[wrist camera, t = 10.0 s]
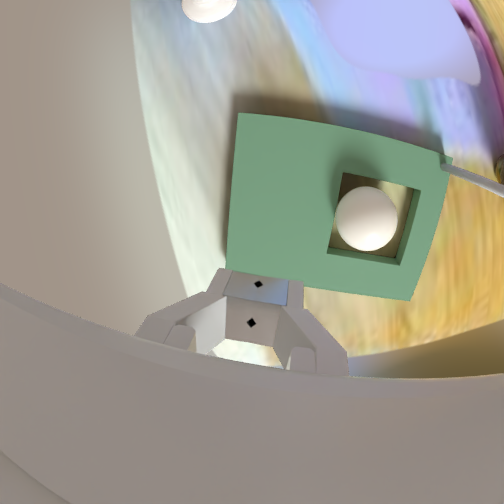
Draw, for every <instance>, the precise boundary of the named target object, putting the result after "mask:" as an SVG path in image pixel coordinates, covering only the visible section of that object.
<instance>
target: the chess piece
mask: <svg viewBox="0 0 504 504" xmlns="http://www.w3.org/2000/svg"><path fill="white" fill-rule="evenodd" d="M236 3H237V0H182V9H183V11H184V13H185V14H186V16H187V17H188V18H189V19H191V20H193V21H195V22H200V23H209V22H214V21H217V20H220V19H222V18H223V17H225V16H227V15H228V14H229V13H230V12H231V11H232V10H233V9H234V7H235V6H236Z"/></svg>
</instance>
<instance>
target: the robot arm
mask: <svg viewBox="0 0 504 504" xmlns="http://www.w3.org/2000/svg"><path fill="white" fill-rule="evenodd" d="M303 302H304V282H303V281H298V280H289V279H282V278H274V277H267V276H261V275H256V274H251V273H246V272H240V271H235V270H234V271H233V270H230V269H224V268H219V269H218V270H217V272H216V274H215V276H214V278H213V280H212V282H211V283H210V285H209V287H208V289H207V291H206V292H200V293H198V294H195V295H193V296H191V297H189V298H186V299H184V300H182V301H180V302H177V303H175V304H173V305H171V306H168V307H166V308H164V309H162V310H159V311H157V312H155V313H152V314H150V315H148V316H147V317H146V319H145V320H144V322H143V323H142V325H141V326H140V328H139V329H138V331H137V332H136V333H135V335H134V336H133V335H130V334H126V333H124V332H120V331H117V330H114V329H111V328H108V327H106V326H103V325H100V324H97V323H94V322H91V321H88V320H86V319H83V318H80V317H78V316H75V315H72V314H70V313H67V312H64V311H62V310H60V309H57V308H55V307H53V306H50V305H48V304H45V303H43V302H41V301H38V300H36V299H34V298H32V297H29V296H27V295H25V294H23V293H21V292H19V291H17V290H15V289H12V288H10V287H8V286H6V285H4V284H2V283H0V504H504V373H502V374H493V375H483V376H472V377H457V378H434V379H433V378H430V379H395V378H368V377H353V376H349V369H348V360H347V352H346V351H345V349H344V348H343V347H342V346H341V345H340V344H339V343H338V342H337V341H336V340H335V339H334V338H333V336H332V335H331V334H330V333H329V332H328V331H327V330H326V329H325V328H324V327H323V326H322V325H321V323H320V322H319V321H318V320H317V319H316V318H315V317H314V316H313V315H312V314H311V313H310V312H309V310H308V309H303ZM224 339H231V340H237V341H244V342H250V343H255V344H260V345H265V346H270V347H273V349H274V351H275V353H276V355H277V356H278V358H279V360H280V362H281V364H282V366H283V368H284V369H279V368H273V367H267V366H261V365H255V364H249V363H244V362H238V361H233V360H228V359H223V358H219V357H214V356H209V355H205V354H206V353H208V352H209V351H210V350H212V349H213V348H214V347H216V346H217V345H218V344H219V343H221V342H222V341H223V340H224Z"/></svg>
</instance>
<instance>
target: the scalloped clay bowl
mask: <svg viewBox="0 0 504 504" xmlns="http://www.w3.org/2000/svg"><path fill="white" fill-rule="evenodd" d="M495 173H496V178H497V181H498V182H499V184H502V185H504V154H503V155H502V156H500V157H499V159H498V160H497V163H496V167H495Z"/></svg>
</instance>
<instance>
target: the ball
mask: <svg viewBox="0 0 504 504" xmlns="http://www.w3.org/2000/svg"><path fill="white" fill-rule="evenodd" d="M397 223H398V216H397V211H396V208H395V205H394V203H393V202H392V200H391V199H390V197H389V196H388V195H387V194H385V193H384V192H383V191H381V190H379V189H377V188H374V187H368V186H364V187H358V188H355V189H353V190H351V191H349V192H348V193H347V194H346V195H345V196H344V197H343V198H342V199H341V201H340V202H339V204H338V207H337V210H336V226H337V229H338V232H339V234H340V235H341V237H342V238H343V240H344V241H345V242H346V243H347V244H349V245H350V246H352V247H353V248H356V249H358V250H362V251H372V250H376V249H379V248H381V247H383V246H384V245H386V244H387V243H388V242H389V241H390V240H391V239H392V237H393V235H394V233H395V231H396V228H397Z"/></svg>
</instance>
